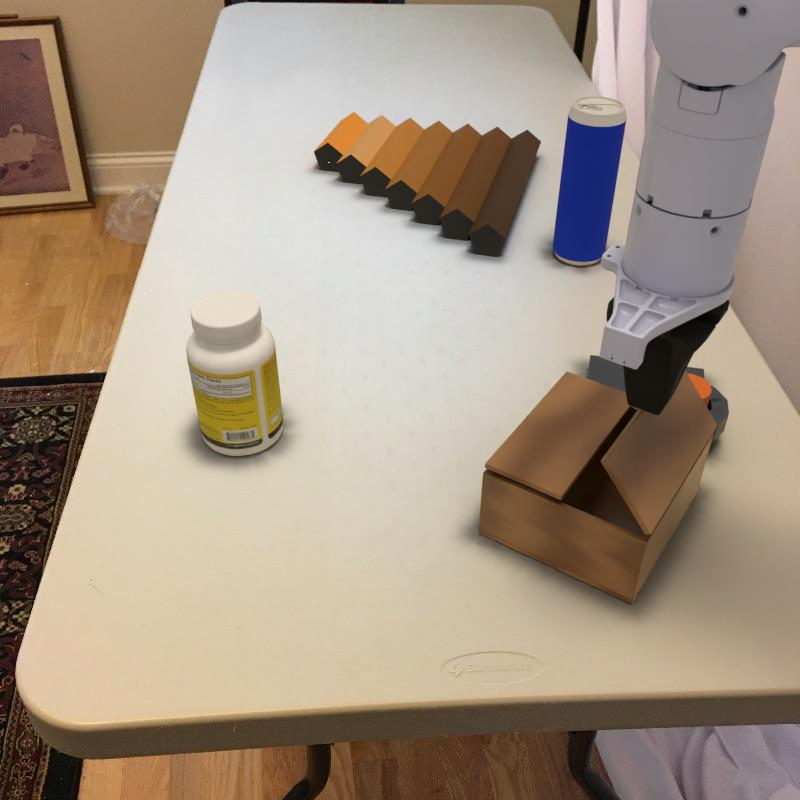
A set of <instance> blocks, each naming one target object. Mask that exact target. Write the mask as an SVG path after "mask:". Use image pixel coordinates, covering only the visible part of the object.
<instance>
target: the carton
mask: <svg viewBox="0 0 800 800" xmlns="http://www.w3.org/2000/svg"><path fill="white" fill-rule="evenodd" d="M587 378H588V377H584V376H581V375H579V374H576V373H573V372H570V371H568V370H567V371H565V372H564V374H563V375H561V377H560V378H559V380H557V382H555V384H554V385H553V386H552V387H551V388H550V389H549V390H548V392H546V394H545V395H544V396H543V397H542V399H540V401H539V402H538V403H537V404H536V405H535V406H534V408H533V409H532V410H531V411H530V412H529V413H528V414H527V415H526V417H525V418H524V419H523V420H522V421H521V422H520V423H519V424H518V425H517V426H516V428H515V429H514V430H513V431H512V432H511V434H509V436H508V437H507V438H506V439H505V440H504V441H503V443H502V444H501V445H499V447H498V449H496V451H495V452H494V453H493V454H492V455H491V456H490V457H489V459H487V461H486V462H485V464H484V468H485V470H484V471H483V472H482V482H481V496H480V508H479V520H478V534H480V535H482V536H485V537H487V538H488V539H490V540H493V541H495V542H497V543H498V544H499V543H500V544H501V545H503V546H505V547H508V548H510V549H512V550H514V551H517V552H519V553H521V554H523V555H525V556H527V557H529V558H531V559H534V560H536V561H538V562H540V563H542V564H544V565H547V566H548V567H551V568H552V569H555V570H558V571H559V572H561V573H564V574H566V575H568V576H570V577H572V578H574V579H577V580H578V581H580V582H583V583H585V584H587V585H589V586H592V587H594V588H596V589H598V590H600V591H602V592H605V593H607V594H608V595H610V596H613V597H615V598H617V599H619V600H621V601H624V602H626V603H627V604H630V605H632V604H634V601H635V600H636V598H637V596H638V595H639V594H640V591H641V590H642V588H643V586H644V584H645V583H646V581H647V580H648V577H649V576H650V574H651V572H652V571H653V569H654V568H655V566H656V564H657V562H658V560H659V559H660V558H661V556H662V554H663V552H664V550H665V548H666V547H667V545H668V543H670V540H671V539H672V536H673V535H674V533H675V531H676V530H677V528H678V526H679V525H680V523H681V521H682V519H683V518H684V516H685V514H686V513H687V511H688V509H689V507H690V506H691V504H692V502H693V500H694V499H695V497H696V495H697V494H698V490H699V489H700V488H699V487H700V484H701V480H702V476H703V473H704V469H705V466H706V463H707V459H708V456H709V452H710V448H711V445H712V443H713V442H712V438H713V434H712V435H711V437H710V438H709V440H708V442H707V443H706V445H705V447H704V448H703V450H702V451H701V453H700V455H699V456H698V458H697V460H696V461H695V463H694V464H693V466H692V468H691V469H690V471H689V473H688V474H687V476H686V478H685V479H684V481H683V482H682V484H681V486H680V487H679V489H678V491H677V492H676V494H675V496H674V497H673V499H672V500H671V502H670V504H669V505H668V507H667V509H666V510H665V512H664V514H663V515H662V517H661V518H660V520H659V522H658V523H657V525H656V527H655V528H654V530H653V532H652V533H651V534H648V535H645V533H644V532H643V530H642V528H641V527H640V525H639V523H638V522H637V520H636V519H635V517H634V515H633V514H632V512H631V510H630V509H629V507H628V505H627V504H626V502H625V500H624V499H623V497H622V496H621V494H620V492H619V491H618V489H617V487H616V486H615V484H614V482H613V481H612V479H611V477H610V476H609V474H608V473H607V471H606V469H605V468H604V466H603V464H602V463H601V460H602V458H603V457H604V455H605V454H606V453H607V451H608V450H609V449H610V447H611V446H612V445H613V443H614V442H615V441H616V439H617V438H618V436H619V435H620V434H621V432H622V431H623V430H624V428H625V427H626V426H627V424H628V423H629V422H630V420H631V419H632V417H633V416H634V415H635V413H636V412H637V411H638V408H635V407H633V406H630V405H628V403H627V398H626V392H623V391H620V390H617V389H615V388H612V387H609V386H606V385H604V384H601V383H598V382H595V381H592V380H590V379H587Z"/></svg>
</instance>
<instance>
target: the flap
mask: <svg viewBox="0 0 800 800" xmlns="http://www.w3.org/2000/svg"><path fill="white" fill-rule="evenodd" d="M716 427H717V424H716V422H715V420H714V419H713V417H712V415H711V413H710V412H709V410H708V408H707V406H706V405H705V403H704V401H703V399H702V398H701V396H700V394H699V393H698V391H697V389H696V387H695V386H694V384H693V382H692V380H691V379H690V377H689V375H688V373H687V372H686V370H685V372H684V374H683V376H682V378H681V381H680V383H679V385H678V387H677V389H676V391H675V392H674V394H673V396H672V398H671V399H670V401H669V402H668V403H667V405H666V406H665V408H664V409H663V411H662V412H661V414H660V415H654V414H652V413H649V412H646V411H644V410H641V409H638V411H637V412H636V413H635V415H634V416H633V417H632V419H631V420H630V422H629V423H628V424H627V426H626V427H625V428H624V430H623V431H622V432H621V434H620V435H619V436H618V438H617V439H616V441H615V442H614V443H613V445H612V446H611V447H610V449H609V450H608V451H607V453H606V454H605V455H604V457H603V458H602V460H601V463H602V464H603V466H604V468H605V469H606V471H607V473H608V474H609V476H610V477H611V479H612V481H613V482H614V484H615V486H616V487H617V489H618V491H619V492H620V494H621V496H622V497H623V499H624V500H625V502H626V504H627V505H628V507H629V509H630V510H631V512H632V514H633V515H634V517H635V519H636V520H637V522H638V523H639V525H640V527H641V528H642V530H643V532H644V533H645V535H648V534H651V533H652V532H653V530H654V528H655V527H656V525H657V523H658V522H659V520H660V518H661V517H662V515H663V514H664V512H665V510H666V509H667V507H668V505H669V504H670V502H671V500H672V499H673V497H674V496H675V494H676V492H677V491H678V489H679V487H680V486H681V484H682V482H683V481H684V479H685V478H686V476H687V474H688V473H689V471H690V469H691V468H692V466H693V464H694V463H695V461H696V460H697V458H698V456H699V455H700V453H701V451H702V450H703V448H704V447H705V445H706V443H707V442H708V440H709V438H710V437H711V435H712V433H713V432H714V430H715V429H716Z"/></svg>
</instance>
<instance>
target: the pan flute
mask: <svg viewBox="0 0 800 800" xmlns="http://www.w3.org/2000/svg"><path fill="white" fill-rule="evenodd" d="M541 143H542V141H541V140H540V139H539V138H538V137H537V136H536V135H534V134H533V133H532V132H531V131H530V130H528V129H525V130H524V131H522V132H520V133H519V134H516V135H515V136H513V137H510V135H508V134H507V133H506V132H505V131H503V130H502V129H501V128H500V127H499V126H496V127H494V128H492V129H491V130H489V131H486V132H485V133H484V134H481V133H480V132H479V131H478V130H477V129H475V128H474V127H473V126H472V125H471V124H469V123H466V124H464V125H462V126H461V127H460V128H458V129H456V130H454V131H452V130H451V128H449V127H448V126H446V125H445V124H444V123H443V122H442V121H441V120H437V121H435V122H434V123H432V124H431V125H429V126H427V127H426V128H424V127H422V126H421V124H419V123H418V122H416V121H415V120H414V119H413V118H412V117H409V118H407V119H406V120H404V121H402V122H400V123H399V124H398V125H395V123H393V122H391V120H389V119H388V118H387V117H386V116H385V115H383V114H381V115H379V116H377V117H376V118H374V119H372V120H371V121H370V122H367V121H366V120H365V119H364V118H362V117H361V116H360V115H359V114H358V113H356V112H355V111H353V112H350V114H349V115H347V116H345V117H344V118H342V119H340V120H339V122H338V123H337V124H336V125H335V126H334V128H332V130H331V131H330V132H329V133H328V135H327V136H326V137H325V138H324V139H323V141H321V143H320V144H319V145H317V147H316V148H315V149H314V151H313V153H314V154H313V155H314V156H315V159H316V162H317V165H318V168H319V170H322V171H331V172H338V173H339V176H340V179H341V181H342V182H344V183H352V184H359V185H362V186H363V189H364V193H365V194H366V195H367V196H368V195H369V196H374V197H383V198H386V197H387V199H388V200H387V201H388V202H389V205H390V208H391V209H394V210H395V209H396V210H403V211H409V212H410V211H411V212H412V210H413V212H414V216H415V220H416V222H417V223H418V224H426V225H435V226H439V224H441V228H442V232H443V234H444V235H443V236H444V238H445V239H452V240H461V241H467V240H468V238H470V241H471V246H472V249H473V252H474V254H475V255H482V256H490V257H497V256H498V254H499V252H500V250H501V248H502V246H503V244H504V241H505V239H506V237H507V234H508V232H509V230H510V227H511V223H512V221H513V218H514V216H515V213H516V210H517V209H518V208H517V207H518V205H519V203H520V200H521V197H522V194H523V191H524V190H525V189H524V188H525V187H526V184H527V182H528V178H529V175H530V174H531V170H532V168H533V165H534V162H535V160H536V157H537V154H538V151H539V150H540V146H541ZM328 162H330V163H328Z"/></svg>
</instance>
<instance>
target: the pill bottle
mask: <svg viewBox="0 0 800 800" xmlns="http://www.w3.org/2000/svg"><path fill="white" fill-rule="evenodd" d="M190 320H191V327H192V330H193V331H192V332H191V334H190V336H189V337H188V340H187V342H186V348H185V352H186V359H187V360H186V361H187V365H188V371H189V376H190V381H191V387H192V392H193V397H194V403H195V407H196V408H195V409H196V413H197V418H198V423H199V430H200V433H201V436H202V439H203V441H204V442H205V444H206V445H207V446H208V447H209V448H210V449H212V450H213V451H215V452H218V453H219V454H222V455H226V456H231V457H234V456H235V457H242V456H249V455H253V454H257V453H260V452H262V451H264V450H266V449H268V448H270V447H271V446H272V445H274V444H275V443H276V442H277V441H278V439H280V437H281V435H282V433H283V429H284V413H283V405H282V395H281V386H280V377H279V368H278V358H277V350H276V342H275V338H274V335H273V333H272V332H271V329H269V328H268V327H267V325H265V324H264V323H263V322H262V321H263V316H262V311H261V304H260V302H259V300H258V299H257V298H256V297H255V296H254V295H252V294H250V293H248V292H246V291H241V290H235V289H234V290H233V289H232V290H230V289H228V290H219V291H215V292H211V293H208V294H206V295H204V296H202V297H200V298H199V299H197V300H196V301H195V302H194V303H193V304H192V306H191V309H190Z"/></svg>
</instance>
